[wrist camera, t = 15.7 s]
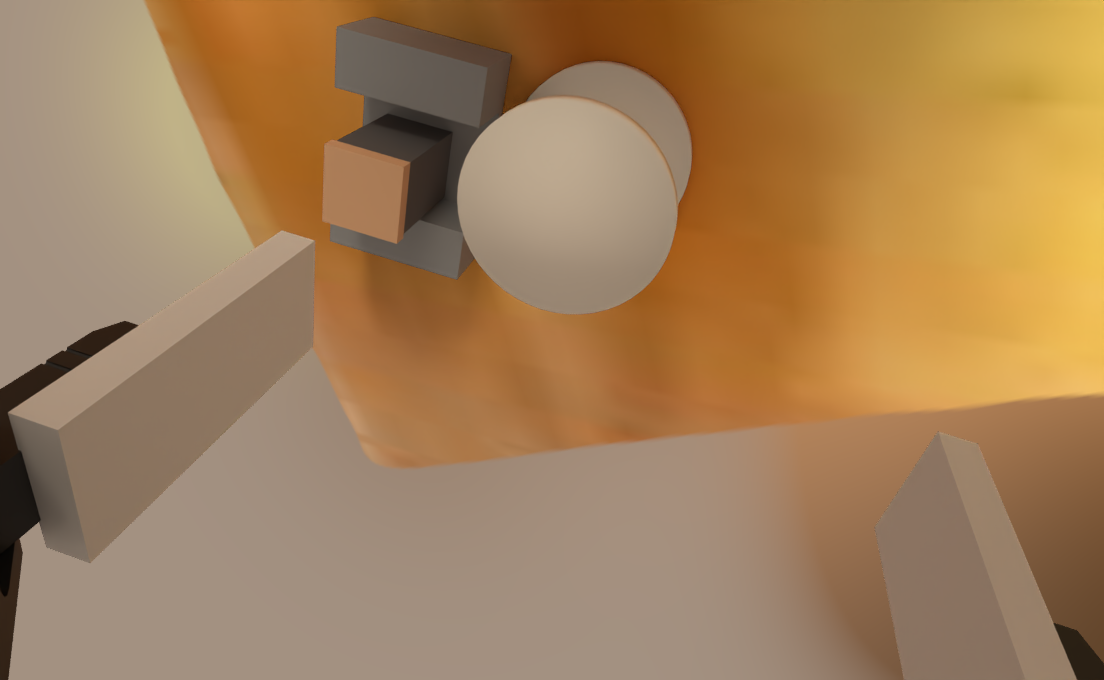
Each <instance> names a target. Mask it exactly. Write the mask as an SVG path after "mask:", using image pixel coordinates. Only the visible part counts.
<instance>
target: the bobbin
mask: <svg viewBox="0 0 1104 680" xmlns="http://www.w3.org/2000/svg"><path fill="white" fill-rule="evenodd" d="M691 165H692V141H691V135H690V131H689V127H688V124H687V121H686V118H685V116H684V114H683V112H682V110H681V108H680V106H679V105H678V103H677V102H676V100H675V99H674V97H673V96H672V95H671V94H670V93H669V91H668V90H667V89H666V88H665V87H664V86H663V85H662V84H661V83H659V82H658V81H657V80H656V79H654V78H653V77H651V76H650V75H649V74H647V73H645V72H643V71H641V70H639V69H637V68H635V67H632V66H629V65H626V64H623V63H618V62H612V61H591V62H584V63H580V64H576V65H573V66H571V67H568V68H565V69H563V70H562V71H560V72H558V73H556V74H554V75H553V76H552V77H550V78H549V79H548V80H546V81H545V82H544V83H543V84H541V85H540V86H539V87H538V88H537V89H536V90H535V91H534V92H533V93H532V94H531V95H530V97H529V98H528V99H527V101H526V102H525V103H522V104H520V105H518V106H516V107H514V108H513V109H511V110H509V111H507V112H506V113H505V114H503V115H502V116H501V117H499V118H498V119H497V120H496V121H494V122H493V123H492V124H490V125H489V126H488V127H487V128H486V129H485V130H484V131H483V132H482V133H481V135H480V136H479V137H478V138H477V140H476V141H475V143H474V144H473V145H472V147H471V149H470V151H469V153H468V154H467V156H466V158H465V161H464V164H463V167H462V169H461V173H460V178H459V183H458V192H457V205H458V215H459V220H460V225H461V228H462V232H463V235H464V238H465V240H466V242H467V244H468V247H469V249H470V251H471V253H472V254H473V256H474V257H475V259H476V261H477V262H478V264H479V265H480V266H481V268H482V269H483V270H484V271H485V273H486V274H487V275H488V276H489V277H490V278H491V279H492V280H493V281H494V282H495V283H496V284H497V285H499V286H500V287H501V288H502V289H503V290H505V291H506V292H508V293H509V294H511V295H512V296H514V297H515V298H517V299H519V300H521V301H523V302H525V303H527V304H529V305H531V306H534V307H537V308H539V309H542V310H546V311H550V312H554V313H562V314H588V313H596V312H600V311H604V310H608V309H610V308H613V307H615V306H618V305H620V304H622V303H624V302H626V301H628V300H629V299H631V298H633V297H634V296H635V295H637V294H638V293H639V292H641V291H642V290H643V289H644V288H645V287H646V286H647V285H648V284H649V283H650V282H651V281H652V280H653V279H654V277H655V276H656V275H657V274H658V272H659V271H660V269H661V267H662V266H663V264H664V262H665V260H666V258H667V256H668V253H669V251H670V248H671V245H672V241H673V237H674V233H675V229H676V225H677V216H678V204H679V202H680V200H681V198H682V196H683V194H684V191H685V189H686V186H687V183H688V179H689V175H690V171H691Z"/></svg>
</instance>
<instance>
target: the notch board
mask: <svg viewBox="0 0 1104 680" xmlns="http://www.w3.org/2000/svg"><path fill="white" fill-rule="evenodd" d="M511 56H512V54H509V53H506V52H502V51H498V50H494V49H491V48H487V47H483V46H480V45H476V44H472V43H469V42H465V41H461V40H457V39H454V38H450V37H446V36H443V35H439V34H435V33H431V32H428V31H424V30H420V29H417V28H413V27H409V26H406V25H402V24H398V23H394V22H391V21H387V20H383V19H380V18H376V17H371V18H367V19H364V20H360V21H356V22H352V23H348V24H345V25H341V26H337V33H336V65H335V87H336V88H339V89H343V90H346V91H350V92H353V93H357V94H360V95H364V113H363V126H365V125H367V124H369V123H371V122H372V121H374V120H376V119H378V118H380V117H382V116H384V115H386V114H387V113H388V114H392V115H395V116H399V117H402V118H406V119H409V120H413V121H416V122H419V123H423V124H426V125H430V126H433V127H437V128H440V129H444V130H447V131H451V132H453V135H452V143H451V150H450V158H449V166H448V174H447V182H446V190H445V197H444V198H443V199H442V200H441V201H440V202H438V203H437V204H436V205H435V206H434V207H433V208H432V209H431V210H430V211H429V212H427V213H426V214H425V215H424V216H423V217H422V218H421V219H420V220H419V221H417V222H416V223H415V224H414V225H413V226H412V227H411V228H410V229H409V230H408V231H406V232H405V233H404V235H403V239H402V240H401V241H399V242H398V243H397V244H396V243H392V242H389V241H386V240H382V239H379V238H376V237H373V236H369V235H366V234H363V233H360V232H356V231H353V230H350V229H346V228H343V227H340V226H337V225H333V224H331V228H330V241H332V242H335V243H338V244H341V245H345V246H348V247H351V248H355V249H358V250H361V251H364V252H368V253H371V254H374V255H378V256H381V257H384V258H387V259H391V260H394V261H397V262H400V263H404V264H407V265H410V266H414V267H417V268H420V269H423V270H427V271H430V272H433V273H437V274H440V275H443V276H446V277H450V278H453V279H456V280H457V279H458V278H459V277H460V276H461V274H462V273H463V272H464V271H465V270H466V268H467V267H468V266H469V265H470V263H471V262H472V261H473V260H474V259H475V257H474V256H473V254H472V253H471V251H470V249H469V247H468V244H467V242H466V240H465V238H464V235H463V232H462V228H461V225H460V220H459V215H458V205H457V192H458V183H459V178H460V173H461V169H462V167H463V164H464V161H465V158H466V156H467V154H468V153H469V151H470V149H471V147H472V145H473V144H474V143H475V141H476V140H477V138H478V137H479V136H480V135H481V133H482V132H483V131H484V130H485V129H486V128H487V127H488V126H489V125H490V124H492V123H493V122H494V121H496V120H497V119H498V118H499V117H501V116H502V112H503V106H504V99H505V93H506V87H507V81H508V75H509V68H510V62H511Z"/></svg>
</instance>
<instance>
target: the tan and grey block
mask: <svg viewBox="0 0 1104 680" xmlns="http://www.w3.org/2000/svg"><path fill="white" fill-rule="evenodd" d="M452 135H453V132H451V131H447V130H444V129H440V128H437V127H433V126H430V125H426V124H423V123H419V122H416V121H413V120H409V119H406V118H402V117H399V116H395V115H392V114H388V113H387V114H386V115H384V116H382V117H380V118H378V119H376V120H374V121H372V122H371V123H369V124H367V125H365V126H363V127H361V128H359V129H358V130H356V131H354V132H352V133H350V134H348V135H346V136H345V137H343V138H341V139H339V140H337V141H336V140H331V141H329V142H327V143H325V144H324V178H323V216H322V221H324V222H327V223H330V224H333V225H337V226H340V227H343V228H346V229H350V230H353V231H356V232H360V233H363V234H366V235H369V236H373V237H376V238H379V239H382V240H386V241H389V242H392V243H396V244H397V243H398V242H399V241H401V240H402V239H403V235H404V233H405V232H406V231H408V230H409V229H410V228H411V227H412V226H413V225H414V224H415V223H416V222H417V221H419V220H420V219H421V218H422V217H423V216H424V215H425V214H426V213H427V212H429V211H430V210H431V209H432V208H433V207H434V206H435V205H436V204H437V203H438V202H440V201H441V200H442V199H443V198H444V197H445V190H446V182H447V174H448V166H449V158H450V150H451V143H452Z"/></svg>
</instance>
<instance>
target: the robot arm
mask: <svg viewBox="0 0 1104 680" xmlns="http://www.w3.org/2000/svg"><path fill="white" fill-rule="evenodd" d="M314 269H315V241H314V240H311V239H308V238H305V237H301V236H298V235H295V234H292V233H288V232H285V231H280V232H279V233H277V234H276V235H274V236H273V237H271V238H270V239H268V240H267V241H265V242H264V243H262V244H261V245H259V246H258V247H256V248H255V249H253V250H252V251H250V252H249V253H247V254H246V255H244V256H243V257H241V258H240V259H238V260H237V261H235V262H234V263H232V264H231V265H229V266H228V267H226V268H225V269H223V270H222V271H220V272H219V273H217V274H216V275H214V276H213V277H211V278H210V279H208V280H207V281H205V282H204V283H202V284H201V285H199V286H198V287H196V288H195V289H193V290H192V291H190V292H189V293H187V294H186V295H184V296H183V297H181V298H180V299H178V300H177V301H175V302H173V303H172V304H171V305H169V306H168V307H166V308H164V309H163V310H161V311H160V312H158V313H157V314H155V315H154V316H152V317H151V318H150V319H148V320H147V321H145V322H143V323H142V324H140V325H136V324H133V323H130V322H126V321H123V322H120V323H117V324H114V325H111V326H108V327H105V328H102V329H99V330H96V331H93V332H91V333H89V334H88V335H86V336H85V337H83V338H81V339H80V340H78V341H77V342H75V343H74V344H72V345H70V346H69V347H67V350H66V351H61V352H59V353H58V354H56V355H54V356H53V357H51V358H50V359H48V360H47V361H46V364H40V365H38V366H37V367H35V368H34V369H32V370H30V371H29V372H27V373H26V374H24V375H22V376H21V377H19V378H18V379H16V380H14V381H13V382H12V383H10V384H8V385H6V386H5V387H3V388H2V389H0V680H8V677H9V668H10V659H11V651H12V642H13V633H14V624H15V615H16V607H17V597H18V589H19V579H20V571H21V563H22V554H23V552H22V548H21V543H20V540H19V538H20V537H21V536H23V535H24V534H25V533H26V532H27V531H28V530H30V529H31V528H32V527H33V526H34V525H36V524H37V523H38V522H39V523H40V526H41V530H42V534H43V537H44V540H45V544H46V547H47V548H50V549H53V550H55V551H58V552H61V553H64V554H66V555H69V556H72V557H75V558H77V559H80V560H83V561H86V562H88V563H91V562H92V561H93V560H94V559H95V558H96V557H97V556H98V555H99V554H100V553H101V552H102V551H103V550H104V549H105V548H106V547H107V546H108V545H109V544H110V543H111V542H112V541H113V540H114V539H116V537H117V536H119V535H120V534H121V533H122V532H123V531H124V530H125V529H126V528H127V527H128V526H129V525H130V524H131V523H132V522H133V521H134V520H135V519H136V518H137V517H138V516H139V515H140V514H141V513H142V512H143V511H144V510H145V509H146V508H147V507H148V506H149V505H150V504H151V503H153V501H155V499H157V498H158V497H159V496H160V495H161V494H162V493H163V492H164V491H165V490H166V489H167V488H168V487H169V486H170V485H171V484H172V483H173V482H174V481H175V480H176V479H177V478H178V477H179V476H180V475H181V474H182V473H183V472H184V471H185V470H186V469H188V468H189V467H190V466H191V465H192V464H193V463H194V462H195V461H196V460H197V459H198V458H199V457H200V456H201V455H202V454H203V453H204V452H205V451H206V450H207V449H208V448H209V447H210V446H211V445H212V444H213V443H214V442H215V441H216V440H217V439H218V438H219V437H220V436H221V435H222V434H223V433H225V432H226V430H228V429H229V428H230V427H231V426H232V425H233V424H234V423H235V422H236V421H237V420H238V419H239V418H240V417H241V416H242V415H243V414H244V413H245V412H246V411H247V410H248V409H249V408H250V407H251V406H252V405H253V404H254V403H255V402H256V401H257V400H258V399H260V397H262V396H263V395H264V394H265V392H267V391H268V390H269V389H270V388H271V387H272V386H273V385H274V384H275V383H276V382H277V381H278V380H279V379H280V378H281V377H282V376H283V375H284V374H285V373H286V372H287V371H288V370H289V369H290V368H291V367H292V366H293V365H294V364H295V363H297V362H298V361H299V360H300V359H301V358H302V357H303V356H304V355H305V354H306V353H307V352H308V351H309V350H310V349H311V348H312V347H313V324H314ZM875 532H876V537H877V542H878V547H879V553H880V558H881V563H882V568H883V573H884V579H885V584H886V589H887V594H888V599H889V604H890V609H891V615H892V620H893V624H894V630H895V635H896V640H897V646H898V651H899V655H900V661H901V666H902V671H903V677H904V680H1104V663H1103V662H1102V661H1101V660H1100V658H1099V657H1098V656H1097V655H1096V653H1095V652H1094V651H1093V650H1092V648H1091V647H1090V646H1089V645H1088V643H1087V642H1086V641H1085V640H1084V639H1083V637H1082V636H1081V635H1080V634H1079V632H1078V631H1077V630H1074V629H1071V628H1068V627H1065V626H1062V625H1059V624H1055V623H1053V622H1052V619H1051V617H1050V614H1049V612H1048V610H1047V607H1046V605H1045V602H1044V600H1043V598H1042V595H1041V593H1040V591H1039V588H1038V586H1037V583H1036V581H1035V579H1034V576H1033V574H1032V572H1031V569H1030V567H1029V564H1028V563H1027V560H1026V557H1025V555H1024V552H1023V550H1022V548H1021V545H1020V543H1019V541H1018V538H1017V536H1016V533H1015V531H1014V529H1013V526H1012V524H1011V522H1010V519H1009V517H1008V515H1007V512H1006V510H1005V507H1004V505H1003V503H1002V500H1001V498H1000V495H999V493H998V491H997V488H996V486H995V483H994V481H993V479H992V476H991V474H990V472H989V469H988V467H987V464H986V462H985V460H984V457H983V455H982V453H981V450H980V448H979V446H978V444H977V443H974V442H971V441H968V440H964V439H961V438H958V437H955V436H951V435H948V434H945V433H941V432H937V433H936V435H935V436H934V438H933V439H932V441H931V442H930V444H929V446H928V447H927V448H926V450H925V452H924V453H923V455H922V456H921V458H920V459H919V461H918V462H917V464H916V465H915V467H914V468H913V470H912V471H911V473H910V474H909V476H908V477H907V479H906V480H905V482H904V484H903V485H902V487H901V488H900V489H899V491H898V492H897V494H896V495H895V497H894V499H893V500H892V501H891V503H890V505H889V506H888V508H887V509H886V511H885V512H884V514H883V515H882V517H881V518H880V520H879V521H878V523H877V524H876V526H875Z"/></svg>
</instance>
